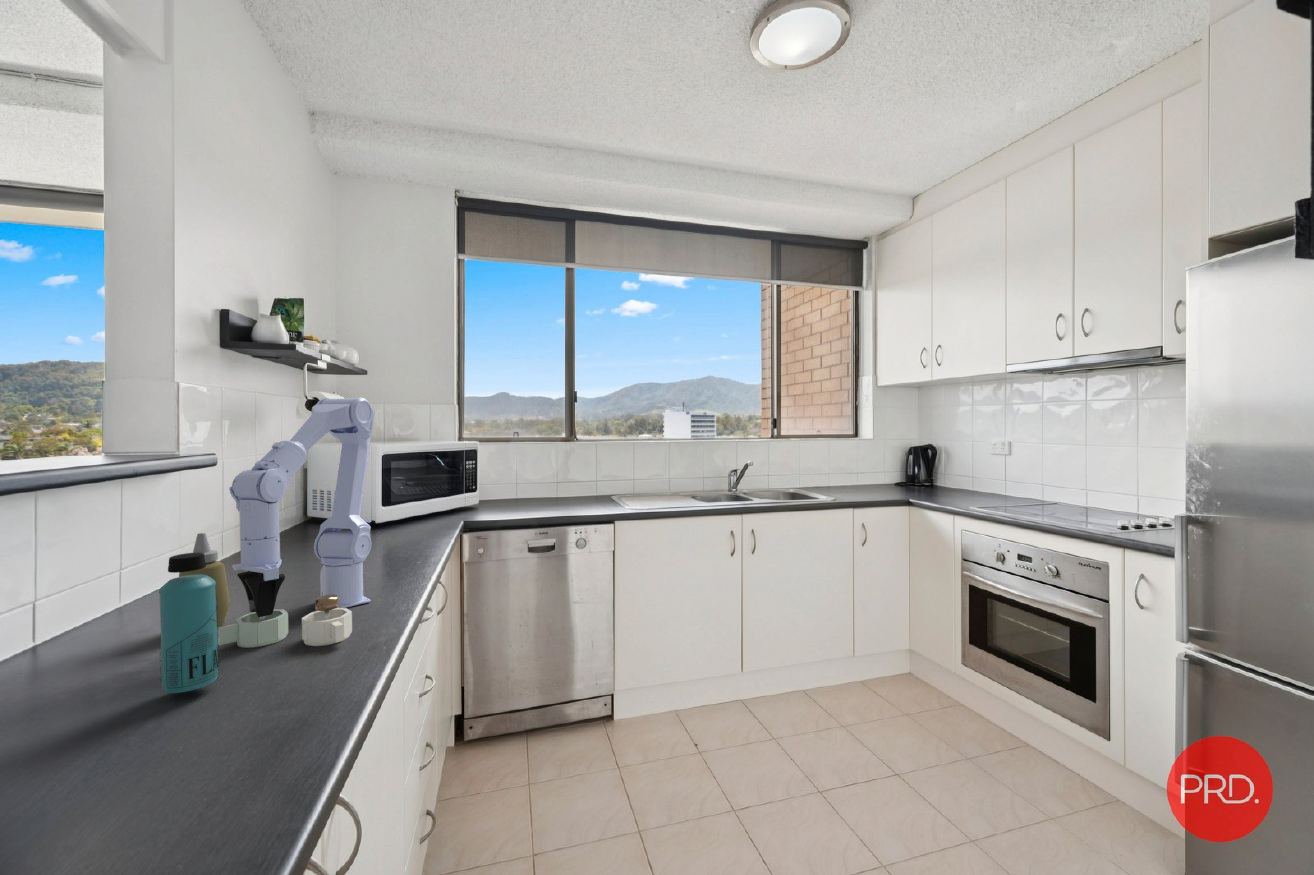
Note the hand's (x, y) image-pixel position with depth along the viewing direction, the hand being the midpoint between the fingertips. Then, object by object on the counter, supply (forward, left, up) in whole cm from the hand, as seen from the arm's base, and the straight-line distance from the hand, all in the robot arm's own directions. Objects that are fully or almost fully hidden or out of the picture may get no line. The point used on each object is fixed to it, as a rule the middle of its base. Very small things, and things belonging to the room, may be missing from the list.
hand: (261, 612), depth 98 cm
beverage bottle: (+16, -12, -5) cm, 21 cm away
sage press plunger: (0, 0, -4) cm, 4 cm away
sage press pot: (0, -1, -5) cm, 5 cm away
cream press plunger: (+8, +8, -4) cm, 12 cm away
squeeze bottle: (-15, -6, -5) cm, 17 cm away
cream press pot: (+9, +8, -5) cm, 13 cm away
